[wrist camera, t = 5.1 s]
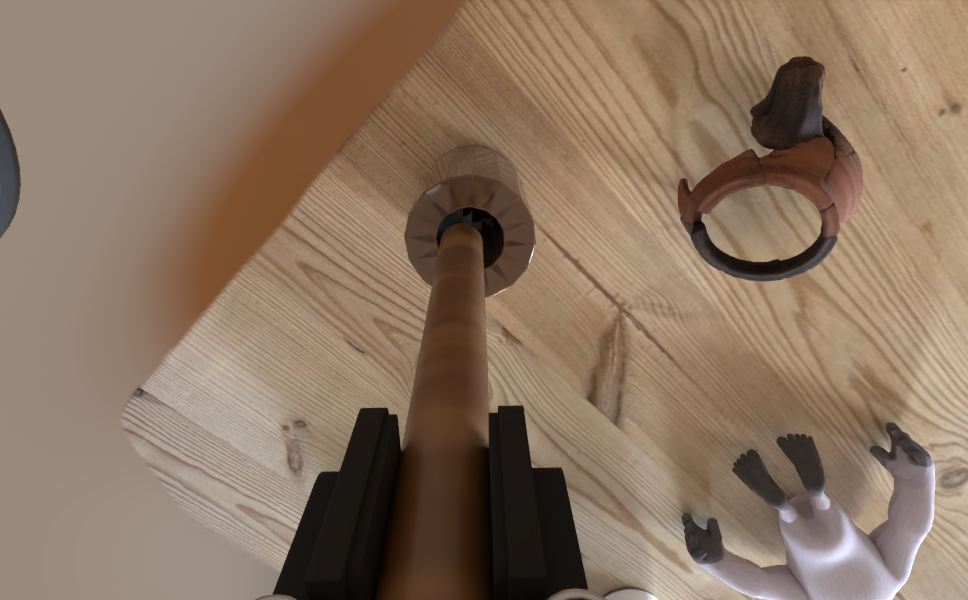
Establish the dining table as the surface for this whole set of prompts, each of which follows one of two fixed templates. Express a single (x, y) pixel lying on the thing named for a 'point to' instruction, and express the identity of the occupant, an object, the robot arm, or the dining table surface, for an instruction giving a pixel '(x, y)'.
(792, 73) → the broken pottery
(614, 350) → the dining table surface
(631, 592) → the can
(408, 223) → the holder
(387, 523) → the robot arm
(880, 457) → the yeti figurine
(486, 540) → the stick
